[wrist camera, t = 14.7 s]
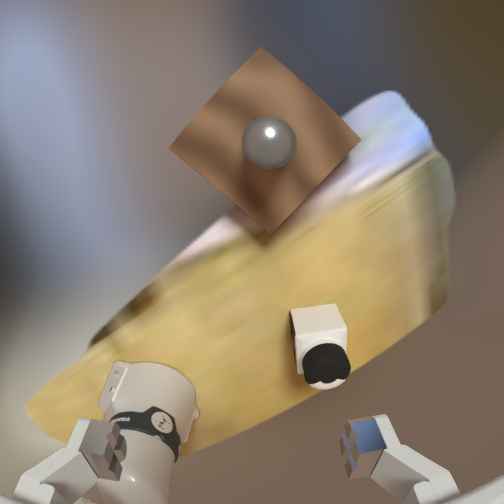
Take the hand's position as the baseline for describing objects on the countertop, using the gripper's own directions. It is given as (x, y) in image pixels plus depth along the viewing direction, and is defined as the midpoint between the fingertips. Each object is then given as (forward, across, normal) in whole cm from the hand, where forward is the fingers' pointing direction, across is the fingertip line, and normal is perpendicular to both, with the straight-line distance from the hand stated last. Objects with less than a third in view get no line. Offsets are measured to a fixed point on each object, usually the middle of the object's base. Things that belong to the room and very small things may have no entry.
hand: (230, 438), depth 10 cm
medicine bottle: (+35, -12, +18) cm, 41 cm away
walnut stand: (+34, -4, -9) cm, 36 cm away
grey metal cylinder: (+30, -4, -9) cm, 32 cm away
